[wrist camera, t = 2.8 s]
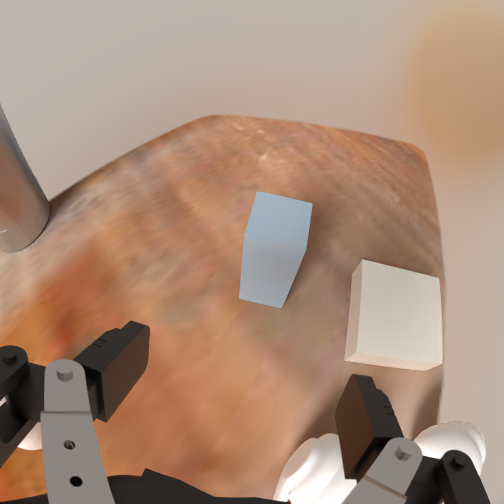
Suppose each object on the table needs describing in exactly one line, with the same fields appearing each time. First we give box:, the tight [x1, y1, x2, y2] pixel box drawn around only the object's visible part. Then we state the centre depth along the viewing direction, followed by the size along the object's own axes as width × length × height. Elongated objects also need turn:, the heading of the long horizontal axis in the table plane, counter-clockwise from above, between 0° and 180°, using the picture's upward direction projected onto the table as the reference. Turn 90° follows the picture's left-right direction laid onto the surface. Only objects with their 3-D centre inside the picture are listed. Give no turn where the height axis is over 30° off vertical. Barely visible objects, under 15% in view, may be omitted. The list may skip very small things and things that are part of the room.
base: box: [344, 259, 442, 371], centre depth 26 cm, size 9×9×3 cm
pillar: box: [239, 191, 313, 308], centre depth 25 cm, size 4×4×10 cm
